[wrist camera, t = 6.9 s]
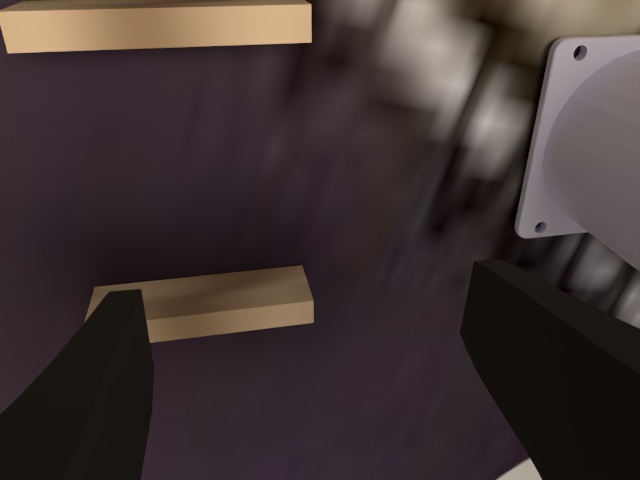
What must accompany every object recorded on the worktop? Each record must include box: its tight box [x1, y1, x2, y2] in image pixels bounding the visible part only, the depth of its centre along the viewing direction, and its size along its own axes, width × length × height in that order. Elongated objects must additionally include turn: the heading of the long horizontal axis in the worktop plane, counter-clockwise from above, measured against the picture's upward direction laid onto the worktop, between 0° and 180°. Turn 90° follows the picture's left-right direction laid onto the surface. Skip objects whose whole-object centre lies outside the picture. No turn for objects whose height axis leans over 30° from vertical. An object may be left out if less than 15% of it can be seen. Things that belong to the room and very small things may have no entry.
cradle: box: [0, 0, 314, 343], centre depth 18 cm, size 8×11×2 cm
